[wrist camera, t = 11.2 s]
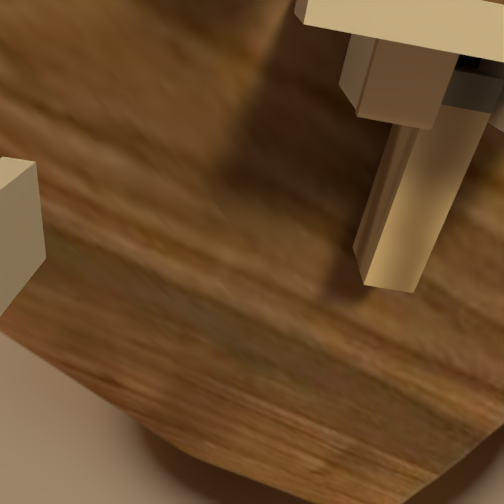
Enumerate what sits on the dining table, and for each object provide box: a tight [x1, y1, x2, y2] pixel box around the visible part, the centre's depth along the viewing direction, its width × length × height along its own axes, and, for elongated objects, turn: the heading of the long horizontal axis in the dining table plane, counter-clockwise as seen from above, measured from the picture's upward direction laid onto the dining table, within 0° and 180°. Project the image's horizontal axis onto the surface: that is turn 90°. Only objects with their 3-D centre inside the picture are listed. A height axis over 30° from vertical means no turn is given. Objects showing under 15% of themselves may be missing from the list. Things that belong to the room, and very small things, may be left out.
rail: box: [353, 64, 504, 293], centre depth 33 cm, size 4×16×6 cm, turn 171°
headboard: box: [294, 0, 504, 132], centre depth 25 cm, size 20×6×14 cm, turn 81°
